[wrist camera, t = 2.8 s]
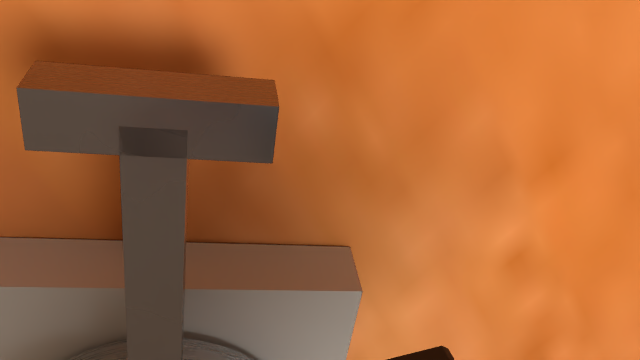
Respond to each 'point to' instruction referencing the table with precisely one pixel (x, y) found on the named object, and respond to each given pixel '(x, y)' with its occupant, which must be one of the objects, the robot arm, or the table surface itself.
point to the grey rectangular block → (199, 305)
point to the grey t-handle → (150, 173)
